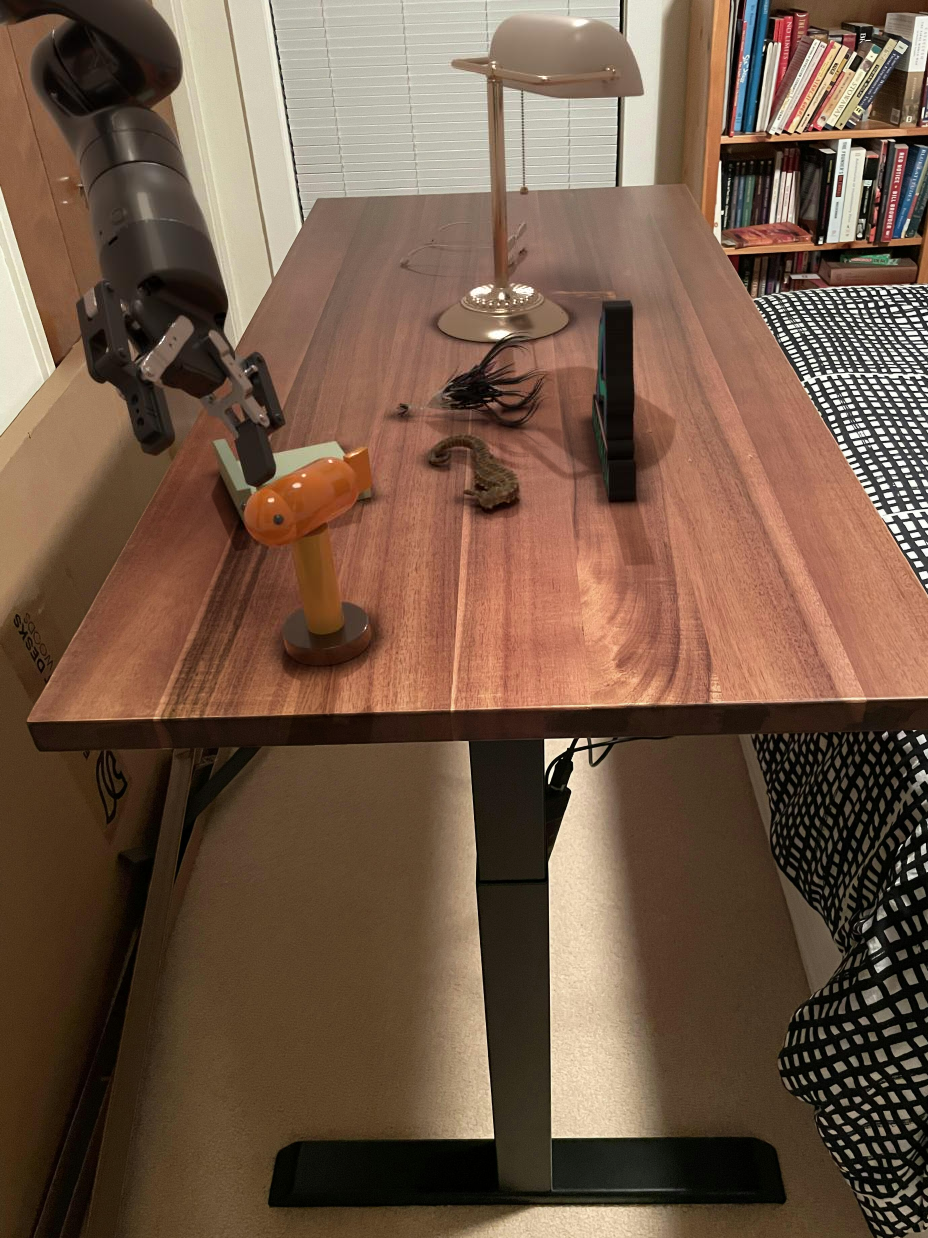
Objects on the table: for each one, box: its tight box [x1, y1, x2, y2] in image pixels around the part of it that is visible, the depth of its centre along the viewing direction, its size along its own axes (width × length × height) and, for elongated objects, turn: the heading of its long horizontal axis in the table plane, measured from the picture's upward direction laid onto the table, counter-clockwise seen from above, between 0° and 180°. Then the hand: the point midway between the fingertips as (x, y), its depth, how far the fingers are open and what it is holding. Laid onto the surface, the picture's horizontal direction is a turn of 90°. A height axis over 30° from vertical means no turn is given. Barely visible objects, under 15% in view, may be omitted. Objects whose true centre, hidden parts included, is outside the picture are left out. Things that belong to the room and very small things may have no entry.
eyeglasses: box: [399, 221, 527, 266], centre depth 157 cm, size 15×18×4 cm
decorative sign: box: [591, 299, 637, 501], centre depth 92 cm, size 19×2×15 cm, turn 1°
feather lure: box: [396, 331, 556, 428], centre depth 103 cm, size 9×18×8 cm, turn 83°
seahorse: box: [427, 433, 521, 510], centre depth 93 cm, size 6×15×2 cm, turn 24°
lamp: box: [436, 12, 645, 343], centre depth 122 cm, size 26×24×34 cm
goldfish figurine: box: [239, 445, 373, 667], centre depth 69 cm, size 11×6×14 cm, turn 144°
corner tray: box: [212, 438, 372, 526], centre depth 93 cm, size 12×12×4 cm
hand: (213, 465), depth 61 cm, fingers open, 8 cm apart
